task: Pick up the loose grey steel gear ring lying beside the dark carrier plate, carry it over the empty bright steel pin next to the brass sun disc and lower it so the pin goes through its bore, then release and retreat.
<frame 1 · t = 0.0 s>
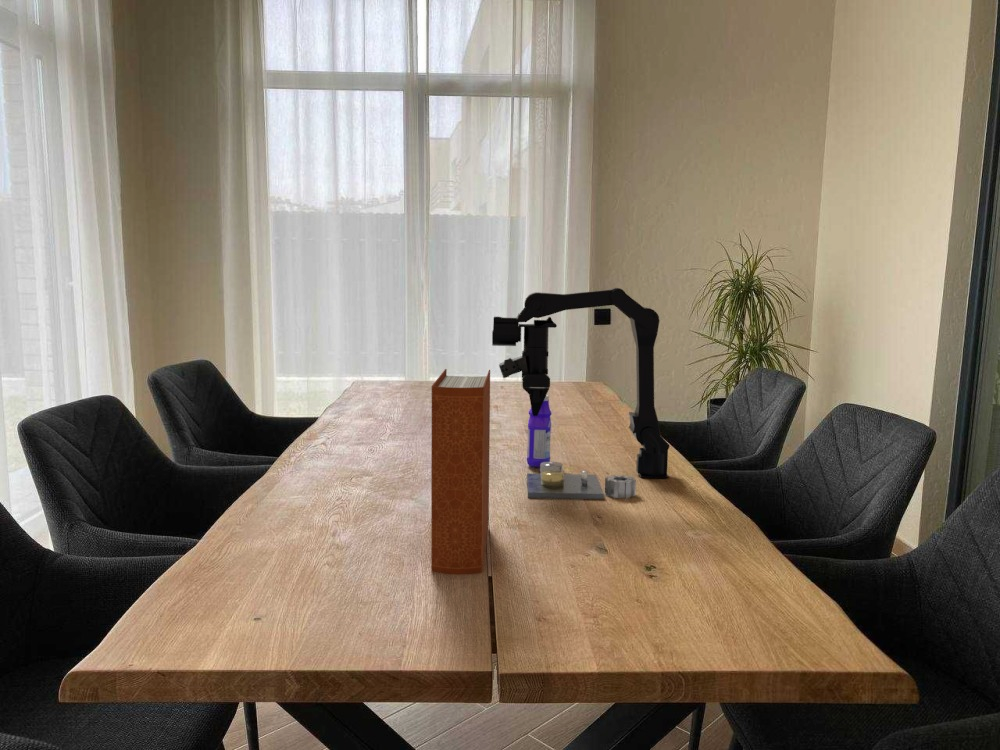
hand: (534, 412, 188), 15 cm above the table, fingers open, 9 cm apart
planet gear: (619, 494, 173), on the table
bottle: (538, 466, 197), on the table, touching gripper
book: (461, 550, 138), on the table
carrier: (563, 488, 177), on the table
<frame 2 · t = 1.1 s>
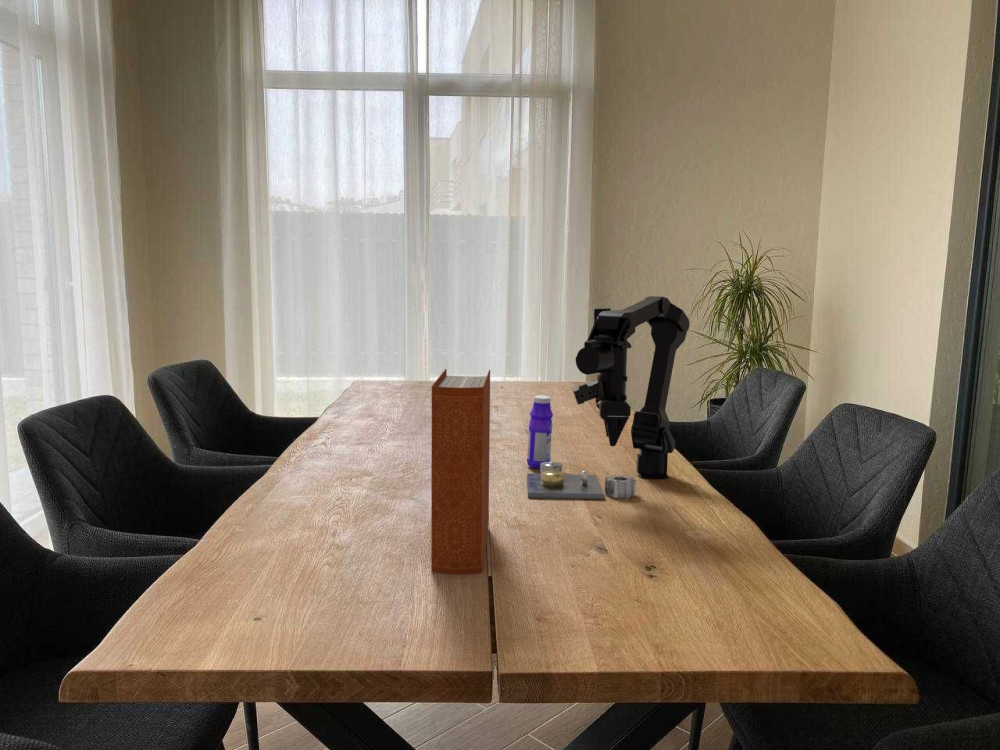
hand: (610, 441, 173), 11 cm above the table, fingers open, 9 cm apart
bottle: (538, 466, 197), on the table
everything else where it was.
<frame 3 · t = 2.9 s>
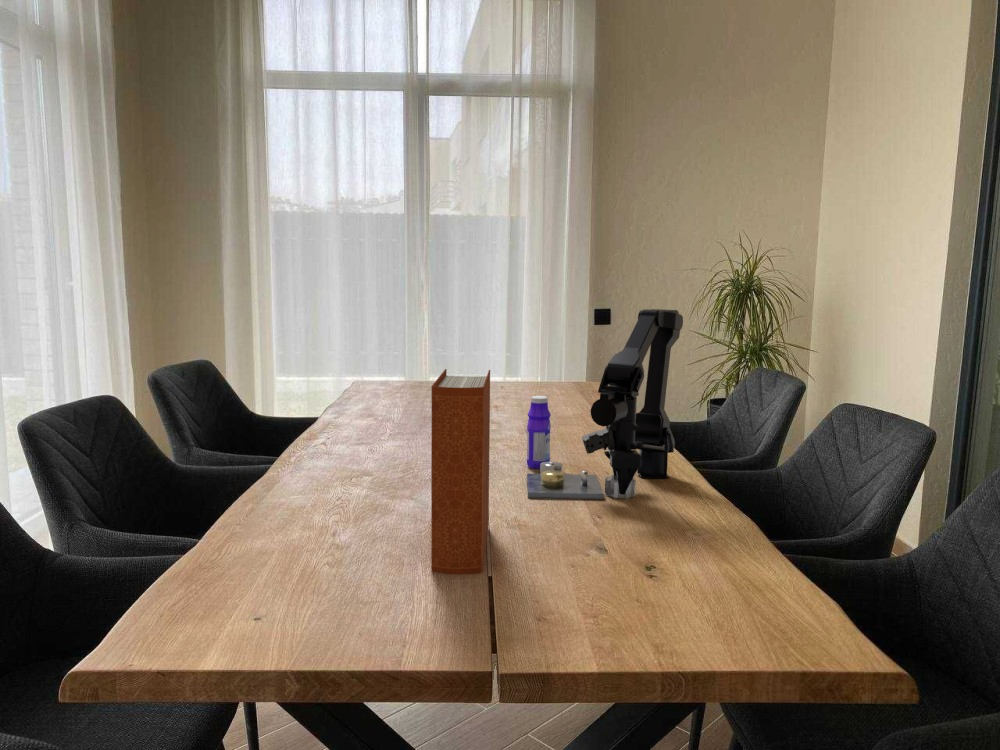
hand: (620, 489, 173), 1 cm above the table, fingers closed on planet gear, 6 cm apart
planet gear: (619, 494, 173), on the table, touching gripper
everything else where it was.
when the fingers open (3 cm above the table, at t = 6.3 s): planet gear stays where it is, resting on carrier.
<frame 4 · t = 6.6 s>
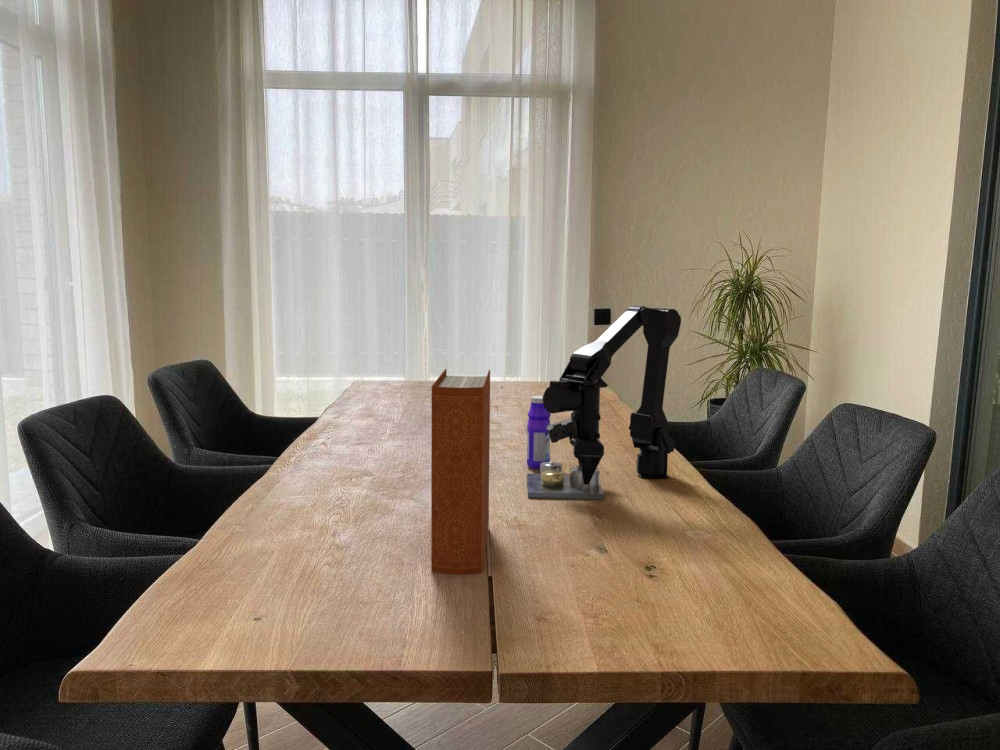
hand: (584, 478, 176), 3 cm above the table, fingers open, 9 cm apart
planet gear: (584, 484, 176), point 1 cm above the table, touching carrier
everything else where it was.
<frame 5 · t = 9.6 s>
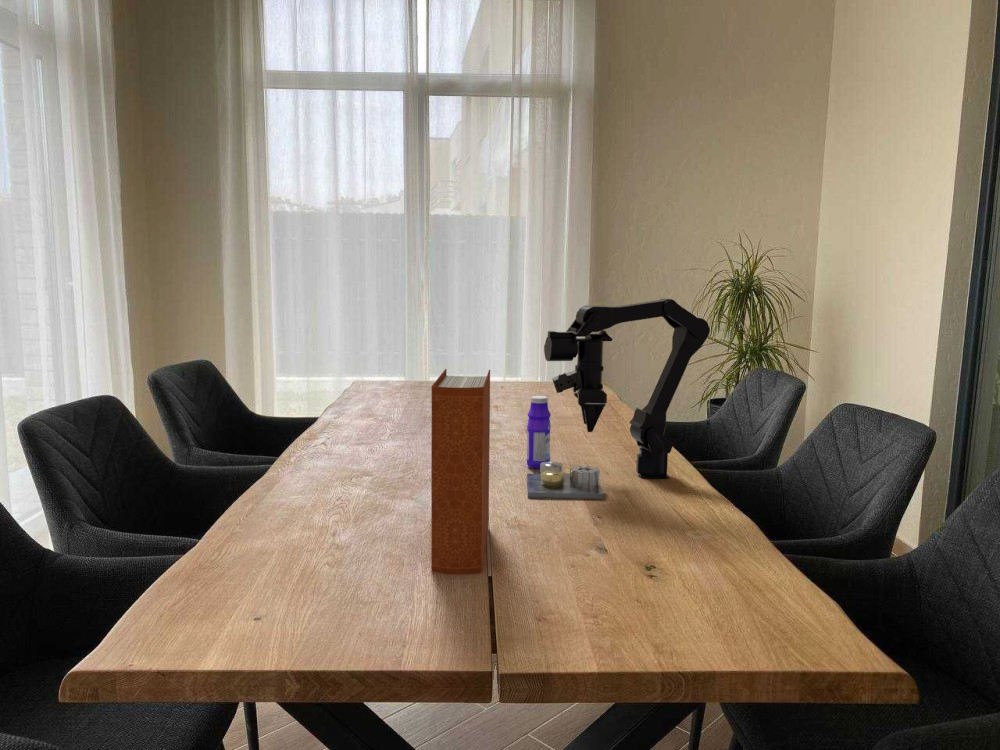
hand: (588, 427, 184), 12 cm above the table, fingers open, 9 cm apart
nothing on the table moved.
at the end: planet gear 0.0 cm from the target spot on the carrier, point 1.2 cm above the carrier's base; planet gear tilted 0°; the gripper is holding nothing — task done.
